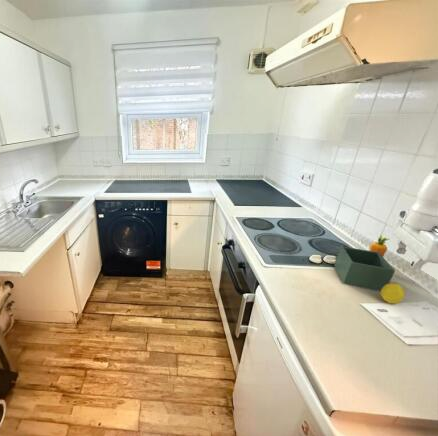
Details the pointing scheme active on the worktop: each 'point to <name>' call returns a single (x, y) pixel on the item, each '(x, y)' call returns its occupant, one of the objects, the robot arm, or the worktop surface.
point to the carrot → (379, 246)
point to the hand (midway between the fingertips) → (407, 260)
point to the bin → (363, 268)
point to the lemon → (392, 293)
